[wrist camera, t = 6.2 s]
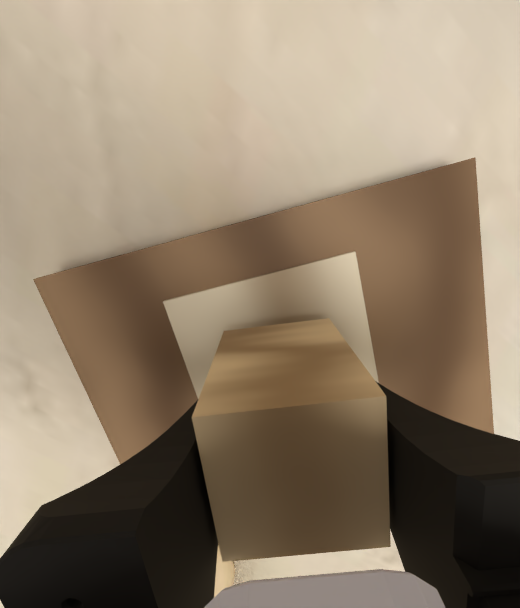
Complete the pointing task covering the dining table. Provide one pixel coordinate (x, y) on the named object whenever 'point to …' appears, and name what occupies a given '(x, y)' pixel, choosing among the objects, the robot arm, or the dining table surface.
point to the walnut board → (290, 302)
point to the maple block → (293, 444)
